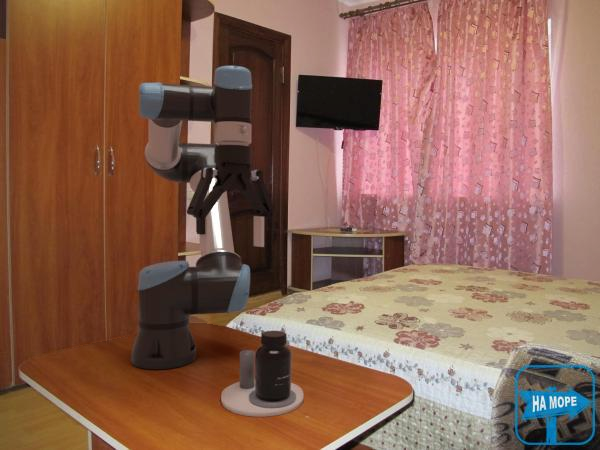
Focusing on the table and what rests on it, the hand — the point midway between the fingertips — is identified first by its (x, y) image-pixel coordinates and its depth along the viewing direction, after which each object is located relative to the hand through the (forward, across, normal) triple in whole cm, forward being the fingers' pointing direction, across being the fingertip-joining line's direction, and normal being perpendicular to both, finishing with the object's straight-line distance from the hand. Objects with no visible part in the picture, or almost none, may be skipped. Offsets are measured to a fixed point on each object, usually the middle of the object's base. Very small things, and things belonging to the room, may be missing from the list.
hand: (233, 248), depth 102 cm
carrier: (+28, 0, -10) cm, 30 cm away
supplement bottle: (+27, 0, -13) cm, 30 cm away
